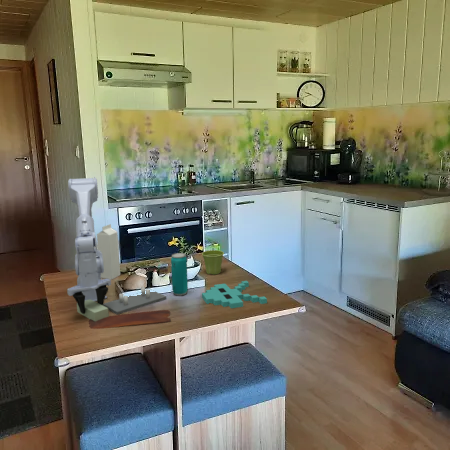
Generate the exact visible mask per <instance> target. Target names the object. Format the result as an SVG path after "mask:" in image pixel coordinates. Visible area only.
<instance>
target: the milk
mask: <svg viewBox="0 0 450 450" xmlns="http://www.w3.org/2000/svg"><path fill="white" fill-rule="evenodd" d="M96 242H97V249H98V250H99V251H101V253H102V256H103V264H104V272H103V273H101V279H110V280H114V279H115V278H118V277H119V276H121V266H120V264H121V263H120V253H119V252H120V251H119V237H118V231H117V230H116V229H114V228H112V224H111V223H110V224H107V225H104V226H102V230H101V231H100V232H98V233H97V234H96Z"/></svg>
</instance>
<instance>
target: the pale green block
mask: <svg viewBox="0 0 450 450" xmlns="http://www.w3.org/2000/svg"><path fill="white" fill-rule="evenodd" d="M76 310H77V313H78V314H80V315H82V316H84V317H85V318H87V319H88V320H89V319H91V320H93V321H97V320H100V319H103V318H106V317H109V316H110V314H109V310H108V308H107V307H105V306H103V305H101V304H99V303H97V301H93V300H91V299H89V300H86V301H85V314H82V313H81V312H80V308H79V306H78V304H77V303H76Z"/></svg>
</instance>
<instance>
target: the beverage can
mask: <svg viewBox="0 0 450 450" xmlns="http://www.w3.org/2000/svg"><path fill="white" fill-rule="evenodd" d="M186 256H187V255H186V254H185V253H182V252H179V253H172V254H171V259H170V263H171V264H170V265H171V267H170V269H171V284H172V285H171V288H172V289H171V290H172V292H173V294H174V295H175V296H185V295H186V294H187V293H188V289H189V285H188V281H189V280H188V263H187V262H188V261H187V259H188V258H187V257H186Z"/></svg>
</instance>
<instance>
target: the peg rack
mask: <svg viewBox="0 0 450 450" xmlns="http://www.w3.org/2000/svg"><path fill="white" fill-rule="evenodd" d="M150 290H151V289H148V288H147V289H146V287H141V288H140V291H141V292H140V293H142V294H141V295H137V296H131V295H124V294H123V293H119V294H118V299H114V300H111V301H107V302H104V303H103V306H105V307H107V308H108V311H110V312H111V313H113V314H115V315H122V314H125V313H127V312H130V311H133V310H136V309H139V308H142V307H146V306H148V305H153V304H156V303H158V302H162V301H164V300H167V296H166V295H164V294H163V293H160V292H157V291H155V292H150ZM145 291H146V294H145ZM128 296H129V297H128Z"/></svg>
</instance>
